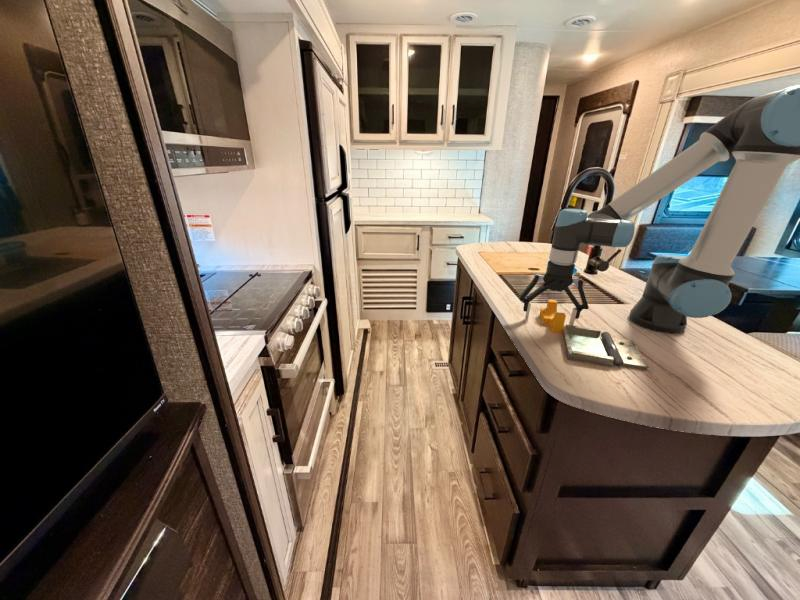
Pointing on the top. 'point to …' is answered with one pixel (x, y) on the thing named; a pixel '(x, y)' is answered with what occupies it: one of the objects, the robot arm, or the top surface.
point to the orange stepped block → (552, 317)
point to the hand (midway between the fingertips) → (547, 323)
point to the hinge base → (600, 348)
